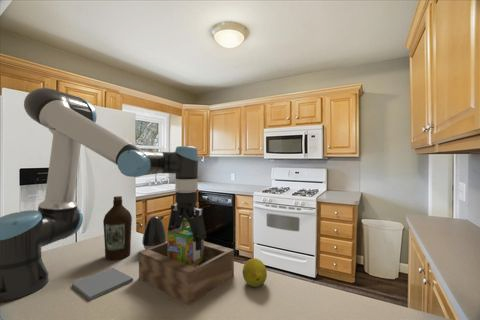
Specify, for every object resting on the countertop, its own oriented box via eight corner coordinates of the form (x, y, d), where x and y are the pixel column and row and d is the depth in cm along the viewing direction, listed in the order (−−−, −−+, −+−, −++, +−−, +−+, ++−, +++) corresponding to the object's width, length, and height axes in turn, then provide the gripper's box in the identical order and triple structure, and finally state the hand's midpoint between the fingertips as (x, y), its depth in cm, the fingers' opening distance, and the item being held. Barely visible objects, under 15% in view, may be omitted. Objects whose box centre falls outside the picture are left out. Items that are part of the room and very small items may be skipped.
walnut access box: (138, 278, 80) (138, 251, 80) (184, 257, 97) (184, 235, 97) (190, 304, 65) (189, 272, 65) (233, 275, 82) (233, 249, 82)
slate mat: (72, 286, 75) (72, 283, 75) (113, 270, 86) (113, 267, 86) (89, 300, 67) (89, 296, 67) (132, 281, 78) (132, 278, 78)
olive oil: (108, 252, 102) (107, 195, 102) (134, 249, 105) (134, 194, 105) (99, 262, 92) (99, 199, 92) (128, 259, 94) (128, 198, 94)
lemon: (243, 276, 81) (243, 253, 81) (266, 277, 81) (266, 253, 81) (241, 294, 70) (241, 267, 70) (267, 295, 70) (267, 268, 70)
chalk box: (166, 265, 79) (166, 221, 79) (184, 255, 87) (184, 216, 87) (187, 271, 75) (187, 225, 75) (204, 260, 83) (205, 219, 83)
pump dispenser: (171, 248, 107) (171, 215, 107) (152, 256, 98) (152, 220, 98) (156, 244, 112) (156, 212, 112) (137, 251, 103) (137, 217, 103)
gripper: (217, 192, 77) (217, 260, 78) (174, 187, 90) (173, 245, 90) (201, 195, 71) (201, 268, 72) (157, 189, 84) (157, 251, 84)
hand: (185, 255), depth 81 cm, fingers closed on chalk box, 9 cm apart
